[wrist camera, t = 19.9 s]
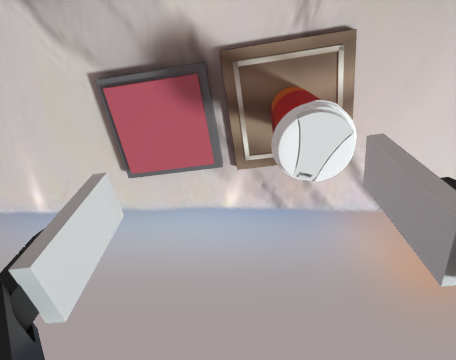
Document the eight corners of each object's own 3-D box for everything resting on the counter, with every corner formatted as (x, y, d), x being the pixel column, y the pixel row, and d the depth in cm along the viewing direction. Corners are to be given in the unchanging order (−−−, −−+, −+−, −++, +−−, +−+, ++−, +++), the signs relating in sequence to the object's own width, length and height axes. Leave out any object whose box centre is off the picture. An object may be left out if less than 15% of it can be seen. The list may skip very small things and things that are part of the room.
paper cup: (309, 142, 41) (339, 194, 28) (255, 128, 40) (262, 176, 28) (331, 85, 37) (378, 116, 25) (273, 69, 36) (290, 93, 24)
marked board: (219, 50, 37) (219, 51, 36) (353, 28, 35) (357, 29, 34) (237, 166, 44) (237, 170, 43) (348, 153, 42) (351, 156, 41)
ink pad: (100, 78, 39) (92, 81, 37) (205, 61, 37) (203, 64, 35) (132, 173, 45) (127, 180, 43) (223, 162, 44) (222, 169, 42)
